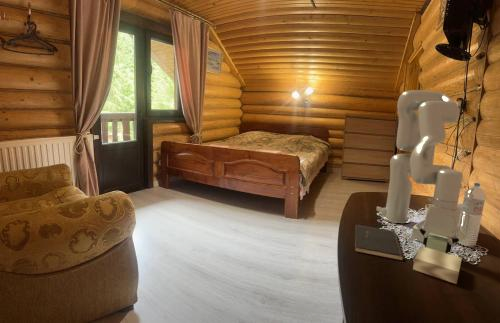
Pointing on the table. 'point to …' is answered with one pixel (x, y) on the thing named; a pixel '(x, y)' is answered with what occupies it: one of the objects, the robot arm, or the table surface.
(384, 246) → the hardcover book
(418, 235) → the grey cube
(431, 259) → the birch block
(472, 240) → the water bottle
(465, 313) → the table surface
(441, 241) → the sage cube
